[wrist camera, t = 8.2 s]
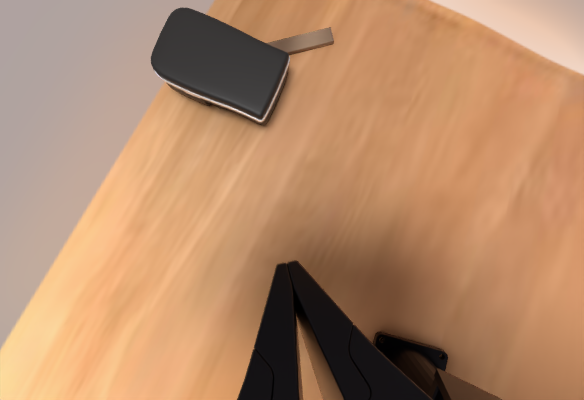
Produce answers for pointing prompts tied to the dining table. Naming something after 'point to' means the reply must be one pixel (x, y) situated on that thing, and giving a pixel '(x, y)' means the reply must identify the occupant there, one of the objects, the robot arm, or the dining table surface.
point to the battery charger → (220, 65)
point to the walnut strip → (305, 41)
